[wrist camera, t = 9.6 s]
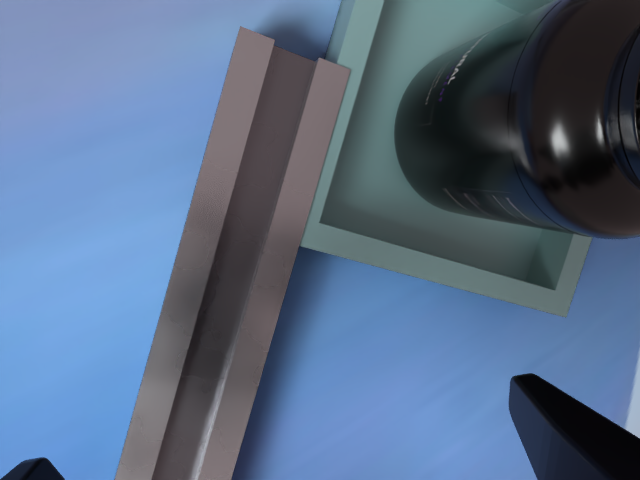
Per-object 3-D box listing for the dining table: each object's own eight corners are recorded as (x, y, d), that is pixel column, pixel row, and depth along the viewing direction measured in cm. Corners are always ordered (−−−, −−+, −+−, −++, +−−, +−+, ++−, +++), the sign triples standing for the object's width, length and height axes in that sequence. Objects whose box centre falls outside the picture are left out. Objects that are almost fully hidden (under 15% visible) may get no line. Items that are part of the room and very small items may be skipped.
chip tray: (527, 302, 23) (566, 317, 20) (274, 233, 19) (285, 242, 17) (611, 42, 22) (661, 25, 20) (364, -82, 18) (390, -120, 16)
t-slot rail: (198, 537, 20) (199, 588, 18) (100, 530, 19) (85, 583, 16) (330, 83, 19) (350, 69, 16) (233, 47, 18) (240, 26, 15)
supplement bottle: (407, 31, 19) (736, -193, 7) (545, 77, 21) (977, -44, 9) (370, 197, 19) (623, 229, 8) (507, 228, 21) (872, 290, 10)
